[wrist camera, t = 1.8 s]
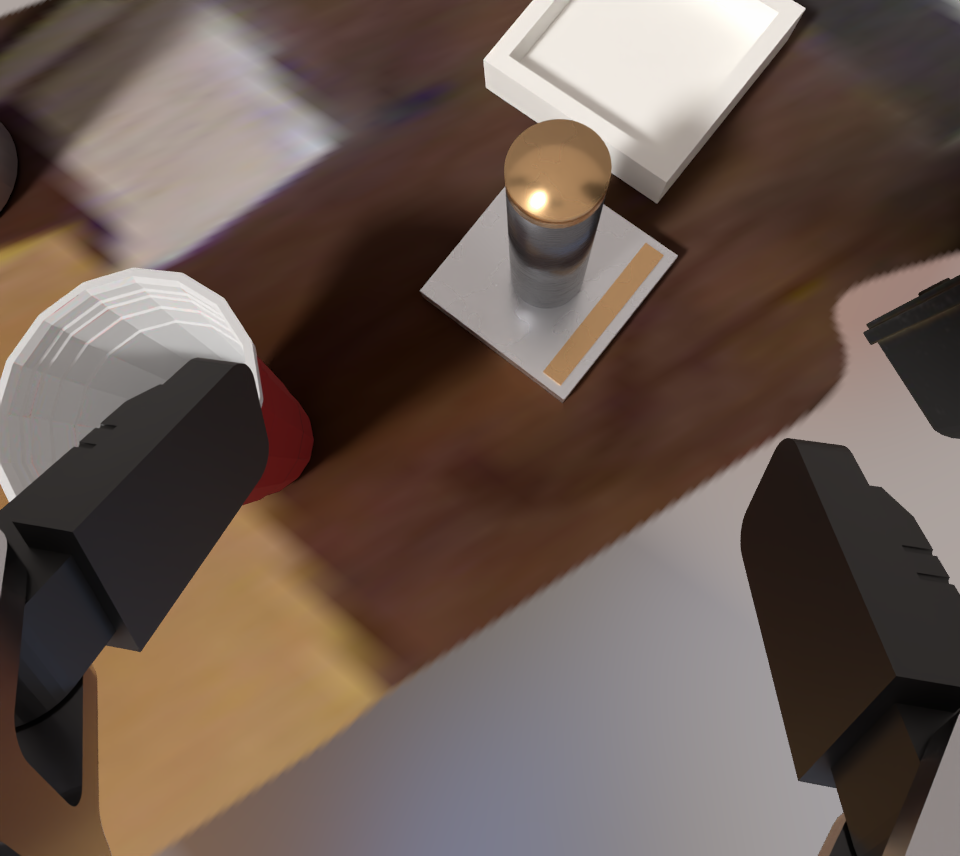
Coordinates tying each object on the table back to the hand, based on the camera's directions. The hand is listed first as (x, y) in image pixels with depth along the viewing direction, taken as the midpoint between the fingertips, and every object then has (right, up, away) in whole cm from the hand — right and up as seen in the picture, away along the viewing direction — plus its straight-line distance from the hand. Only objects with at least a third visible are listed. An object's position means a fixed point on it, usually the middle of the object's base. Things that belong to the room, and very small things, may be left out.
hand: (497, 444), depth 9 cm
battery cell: (+3, +9, +23) cm, 24 cm away
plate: (+3, +9, +24) cm, 25 cm away
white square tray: (+9, +22, +25) cm, 34 cm away
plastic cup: (-13, 0, +24) cm, 27 cm away
